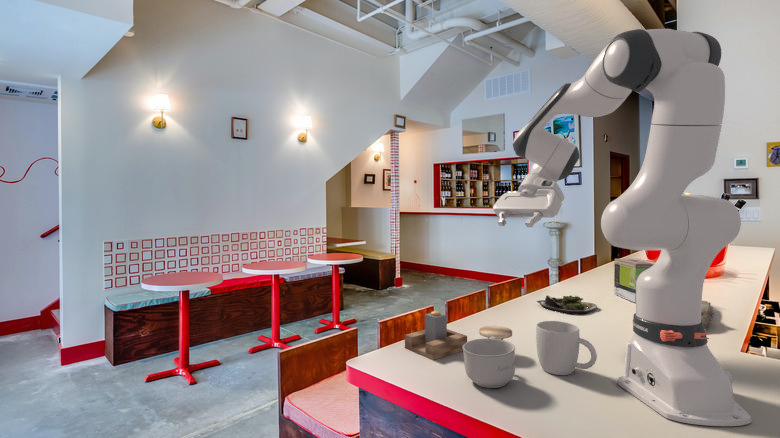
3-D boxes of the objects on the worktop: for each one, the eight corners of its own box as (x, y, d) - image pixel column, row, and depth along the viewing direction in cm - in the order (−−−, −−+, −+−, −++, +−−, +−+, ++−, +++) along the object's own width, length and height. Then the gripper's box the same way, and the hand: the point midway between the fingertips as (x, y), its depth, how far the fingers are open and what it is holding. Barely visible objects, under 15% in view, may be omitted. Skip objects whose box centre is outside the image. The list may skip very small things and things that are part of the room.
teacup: (506, 398, 82) (506, 358, 81) (455, 386, 87) (454, 348, 87) (524, 372, 93) (524, 337, 93) (478, 363, 99) (478, 330, 99)
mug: (530, 371, 94) (529, 327, 94) (545, 359, 101) (545, 318, 100) (590, 387, 86) (590, 339, 85) (602, 373, 92) (602, 328, 92)
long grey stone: (717, 313, 142) (682, 310, 149) (716, 298, 143) (681, 296, 149) (712, 334, 116) (669, 329, 122) (711, 315, 116) (668, 311, 122)
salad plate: (562, 299, 162) (562, 287, 162) (608, 308, 148) (608, 295, 147) (531, 307, 151) (531, 294, 151) (577, 318, 136) (577, 304, 136)
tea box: (662, 303, 152) (662, 263, 151) (634, 303, 152) (635, 263, 151) (638, 294, 167) (638, 257, 166) (613, 294, 167) (613, 257, 166)
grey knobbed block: (436, 341, 112) (436, 309, 112) (446, 345, 109) (446, 312, 109) (425, 344, 110) (424, 312, 110) (435, 348, 107) (435, 315, 106)
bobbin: (515, 360, 100) (514, 335, 100) (481, 359, 101) (481, 335, 101) (509, 348, 108) (509, 325, 108) (478, 348, 109) (477, 325, 109)
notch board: (438, 338, 118) (438, 326, 117) (467, 349, 109) (467, 335, 109) (404, 347, 110) (404, 334, 110) (433, 360, 102) (432, 345, 101)
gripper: (501, 184, 131) (480, 217, 126) (561, 181, 115) (540, 218, 110) (510, 198, 134) (490, 230, 129) (570, 197, 118) (550, 234, 112)
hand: (513, 225), depth 119 cm, fingers open, 8 cm apart
